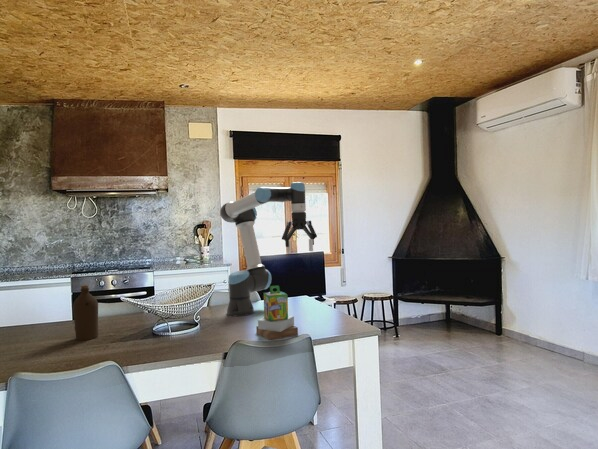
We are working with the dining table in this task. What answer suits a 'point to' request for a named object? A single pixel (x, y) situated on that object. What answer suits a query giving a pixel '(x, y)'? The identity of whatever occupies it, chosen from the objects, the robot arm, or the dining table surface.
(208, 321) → the dining table surface
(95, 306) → the olive oil
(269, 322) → the grey slab
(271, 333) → the walnut slab
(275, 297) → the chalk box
